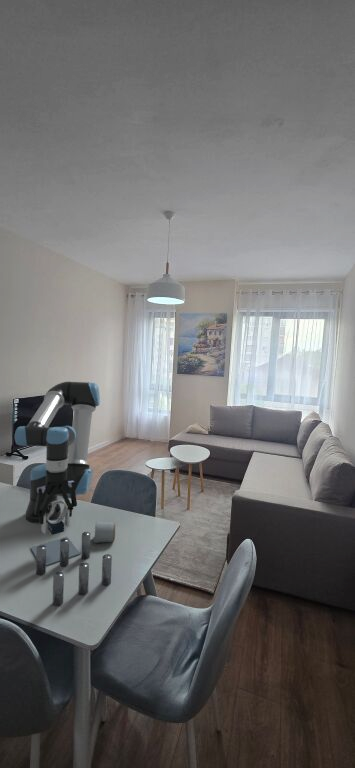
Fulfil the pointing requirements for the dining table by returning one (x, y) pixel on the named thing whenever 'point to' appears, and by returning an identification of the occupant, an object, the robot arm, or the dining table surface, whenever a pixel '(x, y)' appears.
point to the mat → (55, 551)
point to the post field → (64, 561)
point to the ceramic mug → (104, 532)
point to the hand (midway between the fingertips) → (55, 528)
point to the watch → (56, 524)
